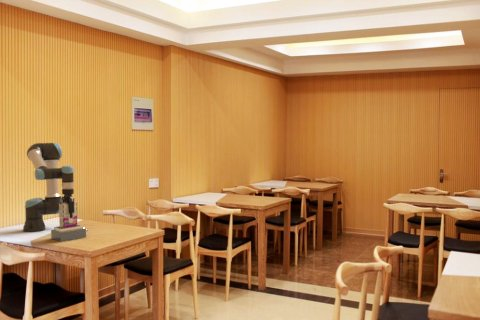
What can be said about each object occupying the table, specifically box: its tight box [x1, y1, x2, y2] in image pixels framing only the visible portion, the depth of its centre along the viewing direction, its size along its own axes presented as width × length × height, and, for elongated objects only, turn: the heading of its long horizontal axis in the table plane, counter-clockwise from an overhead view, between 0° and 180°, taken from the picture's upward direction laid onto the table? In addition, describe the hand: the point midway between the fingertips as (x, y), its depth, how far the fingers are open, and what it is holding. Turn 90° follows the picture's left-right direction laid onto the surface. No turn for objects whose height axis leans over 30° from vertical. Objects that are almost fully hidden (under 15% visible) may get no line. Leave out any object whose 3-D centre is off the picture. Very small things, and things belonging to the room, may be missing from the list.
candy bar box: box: [58, 201, 78, 228], centre depth 312 cm, size 11×5×16 cm, turn 147°
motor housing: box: [50, 223, 89, 243], centre depth 315 cm, size 14×23×8 cm, turn 137°
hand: (68, 222), depth 313 cm, fingers closed on candy bar box, 6 cm apart
